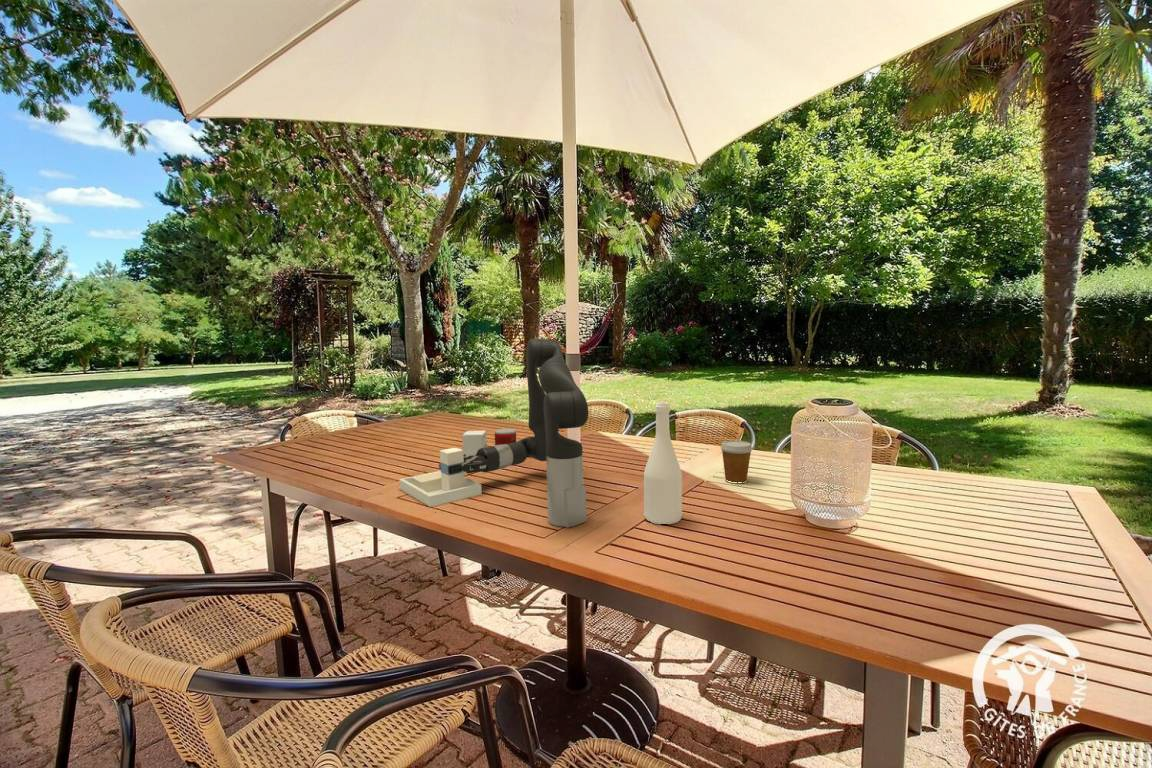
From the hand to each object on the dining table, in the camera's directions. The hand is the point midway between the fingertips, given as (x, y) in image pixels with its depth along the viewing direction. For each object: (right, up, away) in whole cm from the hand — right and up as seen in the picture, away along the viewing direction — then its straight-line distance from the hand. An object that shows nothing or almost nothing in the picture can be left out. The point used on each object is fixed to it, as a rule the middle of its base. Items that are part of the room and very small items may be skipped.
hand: (444, 468), depth 154 cm
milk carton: (+2, -7, +3) cm, 7 cm away
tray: (-3, -9, +5) cm, 10 cm away
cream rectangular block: (-6, -7, +9) cm, 13 cm away
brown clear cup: (+88, -6, +12) cm, 89 cm away
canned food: (+12, -4, +45) cm, 47 cm away
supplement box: (+2, -5, +35) cm, 36 cm away
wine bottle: (+60, -10, -18) cm, 64 cm away
